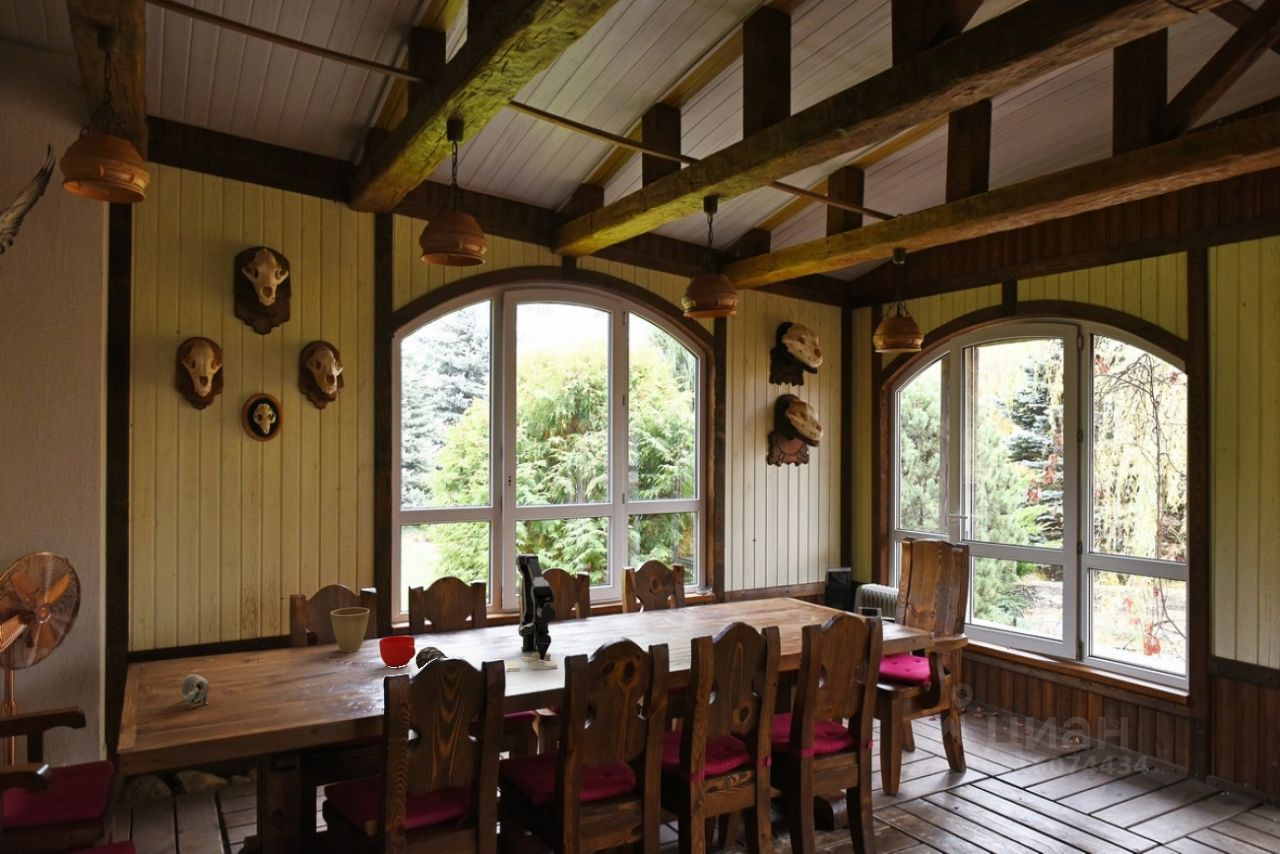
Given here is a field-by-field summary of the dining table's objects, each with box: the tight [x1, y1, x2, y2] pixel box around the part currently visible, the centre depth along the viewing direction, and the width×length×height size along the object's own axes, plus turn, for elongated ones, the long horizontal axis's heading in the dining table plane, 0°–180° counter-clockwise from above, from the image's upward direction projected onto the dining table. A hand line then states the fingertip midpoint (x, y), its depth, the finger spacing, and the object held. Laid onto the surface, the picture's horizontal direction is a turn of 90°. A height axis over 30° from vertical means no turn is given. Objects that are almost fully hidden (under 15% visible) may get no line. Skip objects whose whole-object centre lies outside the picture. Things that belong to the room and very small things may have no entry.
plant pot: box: [330, 607, 370, 653], centre depth 336 cm, size 15×15×16 cm
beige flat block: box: [522, 652, 551, 663], centre depth 322 cm, size 5×10×2 cm, turn 102°
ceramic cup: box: [378, 635, 417, 667], centre depth 312 cm, size 13×17×10 cm
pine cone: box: [415, 646, 449, 670], centre depth 300 cm, size 10×18×10 cm, turn 48°
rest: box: [529, 660, 558, 670], centre depth 313 cm, size 7×10×1 cm
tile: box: [505, 661, 521, 672], centre depth 310 cm, size 2×7×8 cm
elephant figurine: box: [181, 673, 211, 710], centre depth 265 cm, size 8×14×15 cm
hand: (540, 656), depth 323 cm, fingers open, 9 cm apart
